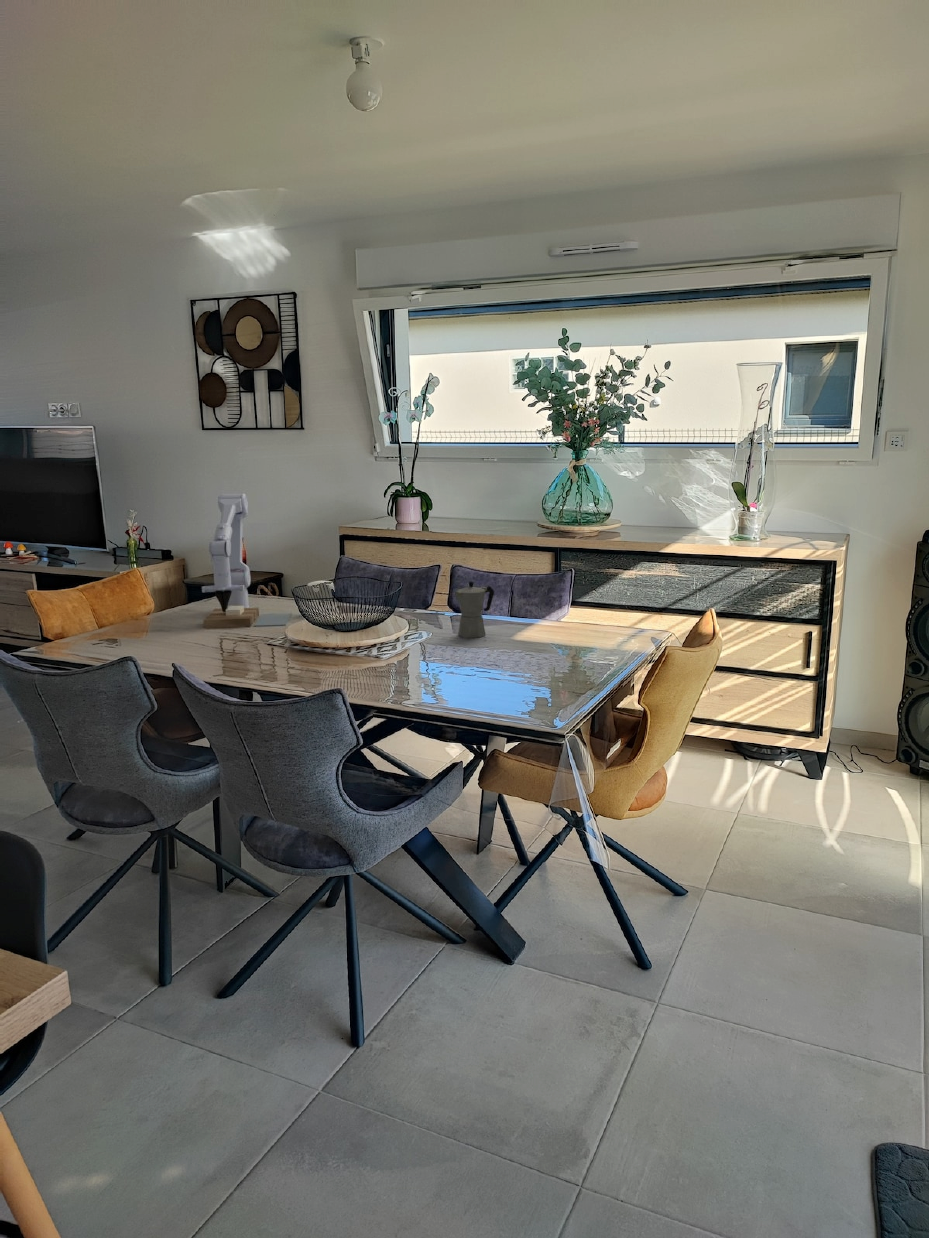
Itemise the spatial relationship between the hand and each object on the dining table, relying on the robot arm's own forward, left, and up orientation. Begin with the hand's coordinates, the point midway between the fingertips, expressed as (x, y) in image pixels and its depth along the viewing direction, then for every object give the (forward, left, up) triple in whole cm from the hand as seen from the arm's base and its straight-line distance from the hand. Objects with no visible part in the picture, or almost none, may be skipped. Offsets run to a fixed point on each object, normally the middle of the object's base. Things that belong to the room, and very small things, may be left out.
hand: (225, 611), depth 313 cm
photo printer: (-9, +33, -4) cm, 35 cm away
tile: (0, +4, -1) cm, 4 cm away
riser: (0, +2, -4) cm, 4 cm away
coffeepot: (+30, +87, -4) cm, 92 cm away
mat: (0, +17, -4) cm, 17 cm away
